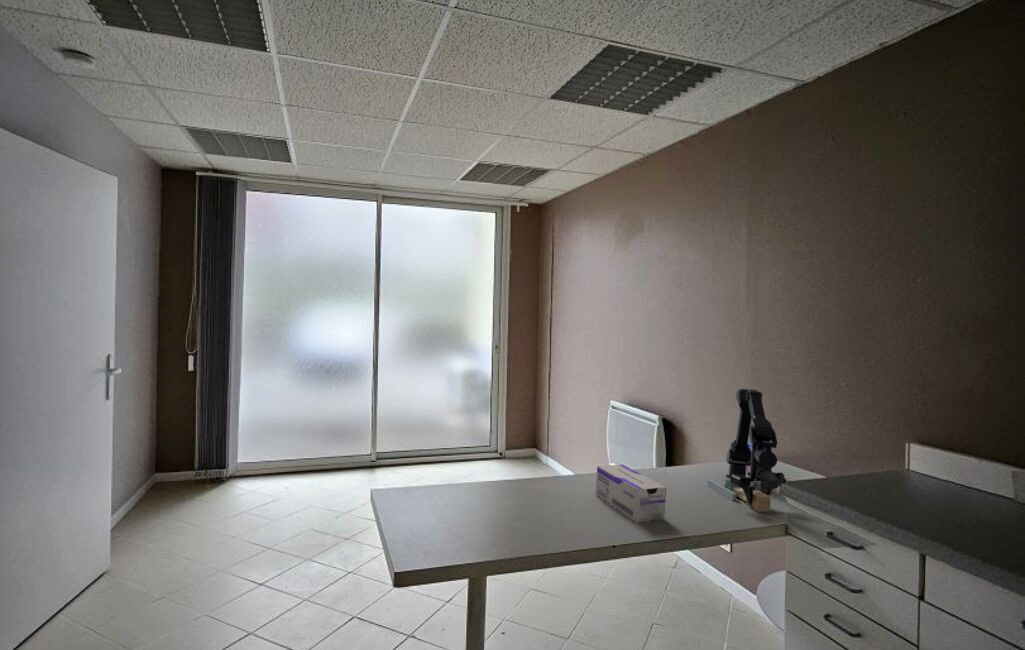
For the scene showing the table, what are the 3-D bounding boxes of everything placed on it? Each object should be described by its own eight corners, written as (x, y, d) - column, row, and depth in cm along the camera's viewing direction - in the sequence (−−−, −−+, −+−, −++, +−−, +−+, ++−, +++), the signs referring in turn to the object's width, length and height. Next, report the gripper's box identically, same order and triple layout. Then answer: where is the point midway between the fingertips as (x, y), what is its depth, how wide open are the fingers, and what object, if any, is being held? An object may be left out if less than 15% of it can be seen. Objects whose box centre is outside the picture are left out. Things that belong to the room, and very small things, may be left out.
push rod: (724, 490, 201) (725, 478, 201) (736, 490, 203) (737, 478, 202) (746, 502, 189) (746, 490, 189) (758, 502, 190) (759, 490, 190)
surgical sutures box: (664, 519, 172) (666, 487, 171) (636, 523, 168) (638, 489, 167) (620, 493, 195) (622, 464, 194) (595, 495, 191) (597, 466, 190)
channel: (707, 485, 208) (707, 479, 208) (729, 485, 211) (730, 479, 210) (732, 500, 193) (732, 493, 193) (756, 500, 195) (757, 493, 195)
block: (745, 504, 189) (746, 491, 189) (758, 504, 190) (759, 490, 190) (757, 511, 183) (758, 497, 183) (769, 510, 185) (770, 496, 184)
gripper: (751, 467, 177) (748, 513, 178) (799, 467, 181) (796, 512, 182) (730, 458, 188) (727, 501, 188) (776, 457, 192) (773, 500, 193)
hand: (756, 504), depth 187 cm, fingers closed on block, 5 cm apart
